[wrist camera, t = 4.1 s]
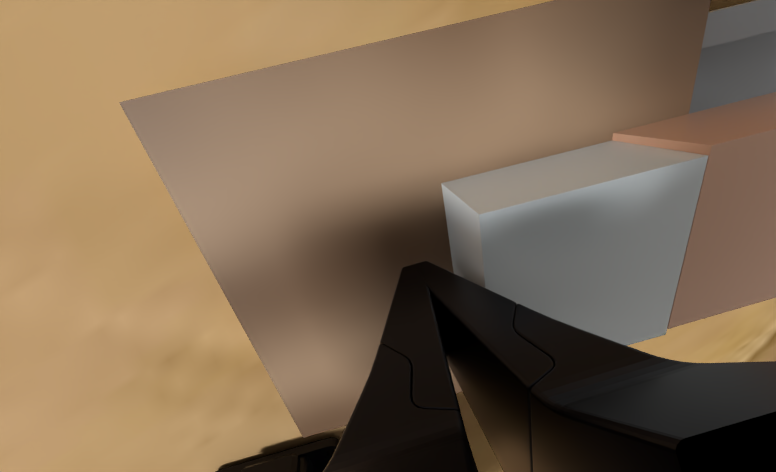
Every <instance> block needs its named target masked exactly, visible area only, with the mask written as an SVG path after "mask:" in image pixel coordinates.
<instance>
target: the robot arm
mask: <svg viewBox="0 0 776 472" xmlns="http://www.w3.org/2000/svg"><path fill="white" fill-rule="evenodd" d="M449 366H450V368H451V370H452V372H453V374H454V376H455V378H456V380H457V382H458V384H459V386H460V388H461V390H462V391H463V393H464V395H465V397H466V399H467V401H468V403H469V405H470V407H471V409H472V411H473V413H474V415H475V417H476V419H477V421H478V422H479V424H480V426H481V428H482V430H483V432H484V434H485V436H486V438H487V440H488V442H489V444H490V446H491V448H492V450H493V452H494V454H495V455H496V457H497V459H498V461H499V463H500V465H501V467H502V469H503V471H504V472H776V361H774V362H737V363H689V362H680V361H674V360H669V359H665V358H661V357H657V356H654V355H651V354H648V353H645V352H642V351H639V350H637V349H634V348H631V347H628V346H626V345H623V344H620V343H617V342H615V341H612V340H609V339H606V338H603V337H601V336H598V335H595V334H592V333H590V332H587V331H584V330H581V329H579V328H576V327H573V326H571V325H568V324H566V323H563V322H560V321H558V320H555V319H553V318H550V317H548V316H546V315H543V314H541V313H539V312H536V311H534V310H532V309H530V308H528V307H525V306H523V305H521V304H517V303H516V302H514V301H512V300H510V299H508V298H506V297H504V296H501V295H499V294H497V293H495V292H493V291H491V290H489V289H486V288H484V287H482V286H480V285H478V284H476V283H473V282H471V281H469V280H467V279H465V278H463V277H461V276H458V275H456V274H454V273H452V272H450V271H448V270H445V269H443V268H441V267H439V266H437V265H435V264H433V263H430V262H428V261H423V262H420V263H416V264H413V265H409V266H406V267H403V268H402V270H401V273H400V276H399V280H398V283H397V286H396V290H395V293H394V297H393V300H392V303H391V307H390V310H389V313H388V317H387V320H386V323H385V327H384V330H383V334H382V337H381V340H380V345H379V347H378V350H377V353H376V357H375V360H374V363H373V365H372V368H371V371H370V374H369V377H368V379H367V381H366V384H365V386H364V388H363V391H362V393H361V395H360V397H359V400H358V402H357V404H356V406H355V408H354V410H353V413H352V415H351V417H350V419H349V421H348V423H347V426H346V428H345V430H344V432H343V434H342V437H341V439H340V441H339V440H338V439H336V438H328V439H324V440H321V441H317V442H314V443H310V444H307V445H304V446H300V447H297V448H293V449H290V450H286V451H283V452H280V453H276V454H273V455H269V456H266V457H263V458H259V459H256V460H252V461H249V462H245V463H242V464H239V465H235V466H232V467H228V468H225V469H221V470H218V471H216V472H478V470H477V467H476V464H475V461H474V458H473V454H472V451H471V448H470V445H469V442H468V438H467V435H466V431H465V427H464V423H463V420H462V416H461V412H460V408H459V404H458V400H457V396H456V392H455V388H454V384H453V380H452V376H451V372H450V368H449Z"/></svg>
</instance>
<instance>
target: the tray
mask: <svg viewBox="0 0 776 472" xmlns="http://www.w3.org/2000/svg"><path fill="white" fill-rule="evenodd" d="M773 92H776V0H754V1H750V2H746V3H742V4H737V5H733V6H729V7H725V8H721V9H717V10H713V11H709V13H708V18H707V23H706V28H705V33H704V39H703V44H702V49H701V54H700V59H699V64H698V69H697V74H696V80H695V85H694V90H693V95H692V100H691V105H690V110H689V114H690V113H694V112H698V111H702V110H706V109H710V108H714V107H718V106H722V105H726V104H730V103H734V102H738V101H742V100H746V99H749V98H753V97H757V96H761V95H765V94H769V93H773Z"/></svg>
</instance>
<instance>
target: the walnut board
mask: <svg viewBox="0 0 776 472" xmlns="http://www.w3.org/2000/svg"><path fill="white" fill-rule="evenodd" d="M710 3H711V0H554V1H550V2H546V3H541V4H537V5H533V6H528V7H524V8H520V9H516V10H511V11H507V12H503V13H499V14H494V15H490V16H486V17H482V18H477V19H473V20H469V21H464V22H460V23H456V24H452V25H447V26H443V27H439V28H435V29H430V30H426V31H422V32H418V33H413V34H409V35H405V36H400V37H396V38H392V39H388V40H383V41H379V42H375V43H371V44H366V45H362V46H358V47H353V48H349V49H345V50H341V51H336V52H332V53H328V54H324V55H319V56H315V57H311V58H307V59H302V60H298V61H294V62H289V63H285V64H281V65H277V66H272V67H268V68H264V69H260V70H255V71H251V72H247V73H242V74H238V75H234V76H230V77H225V78H221V79H217V80H213V81H208V82H204V83H200V84H196V85H191V86H187V87H183V88H178V89H174V90H170V91H166V92H161V93H157V94H153V95H149V96H144V97H140V98H136V99H131V100H127V101H123V102H119V103H120V105H121V107H122V108H123V110H124V112H125V114H126V116H127V117H128V119H129V121H130V123H131V125H132V127H133V128H134V130H135V132H136V134H137V136H138V138H139V139H140V141H141V143H142V145H143V147H144V148H145V150H146V152H147V154H148V156H149V158H150V159H151V161H152V163H153V165H154V167H155V168H156V170H157V172H158V174H159V176H160V178H161V179H162V181H163V183H164V185H165V187H166V189H167V190H168V192H169V194H170V196H171V198H172V199H173V201H174V203H175V205H176V207H177V209H178V210H179V212H180V214H181V216H182V218H183V219H184V221H185V223H186V225H187V227H188V229H189V230H190V232H191V234H192V236H193V238H194V239H195V241H196V243H197V245H198V247H199V249H200V250H201V252H202V254H203V256H204V258H205V260H206V261H207V263H208V265H209V267H210V269H211V270H212V272H213V274H214V276H215V278H216V280H217V281H218V283H219V285H220V287H221V289H222V290H223V292H224V294H225V296H226V298H227V300H228V301H229V303H230V305H231V307H232V309H233V311H234V312H235V314H236V316H237V318H238V320H239V321H240V323H241V325H242V327H243V329H244V331H245V332H246V334H247V336H248V338H249V340H250V341H251V343H252V345H253V347H254V349H255V351H256V352H257V354H258V356H259V358H260V360H261V361H262V363H263V365H264V367H265V369H266V371H267V372H268V374H269V376H270V378H271V380H272V382H273V383H274V385H275V387H276V389H277V391H278V392H279V394H280V396H281V398H282V400H283V402H284V403H285V405H286V407H287V409H288V411H289V412H290V414H291V416H292V418H293V420H294V422H295V423H296V425H297V427H298V429H299V431H300V433H301V434H302V436H303V438H304V437H308V436H311V435H315V434H318V433H322V432H325V431H328V430H332V429H335V428H339V427H342V426H346V425H347V423H348V421H349V419H350V417H351V415H352V413H353V410H354V408H355V406H356V404H357V402H358V400H359V397H360V395H361V393H362V391H363V388H364V386H365V384H366V381H367V379H368V377H369V374H370V371H371V368H372V365H373V363H374V360H375V357H376V353H377V350H378V347H379V345H380V340H381V337H382V334H383V330H384V327H385V323H386V320H387V317H388V313H389V310H390V307H391V303H392V300H393V297H394V293H395V290H396V286H397V283H398V280H399V276H400V273H401V270H402V268H403V267H406V266H409V265H413V264H416V263H420V262H423V261H428V262H430V263H433V264H435V265H437V266H439V267H441V268H443V269H445V270H448V271H450V272H452V273H454V272H453V264H452V257H451V250H450V243H449V236H448V228H447V221H446V214H445V207H444V200H443V192H442V185H441V183H444V182H448V181H452V180H456V179H460V178H464V177H468V176H472V175H476V174H480V173H484V172H488V171H492V170H496V169H500V168H504V167H508V166H512V165H516V164H520V163H524V162H528V161H532V160H536V159H540V158H544V157H548V156H552V155H556V154H560V153H564V152H568V151H572V150H576V149H580V148H584V147H588V146H592V145H596V144H600V143H604V142H608V141H612V137H613V133H615V132H619V131H623V130H627V129H631V128H635V127H639V126H643V125H647V124H650V123H654V122H658V121H662V120H666V119H670V118H674V117H678V116H682V115H686V114H689V110H690V105H691V100H692V95H693V90H694V85H695V80H696V74H697V69H698V64H699V59H700V54H701V49H702V44H703V39H704V33H705V28H706V23H707V18H708V13H709V8H710ZM449 368H450V366H449ZM450 372H451V376H452V380H453V384H454V388H455V392H456V393H459V392H462V390H461V388H460V386H459V384H458V382H457V380H456V378H455V376H454V374H453V372H452V370H451V368H450Z"/></svg>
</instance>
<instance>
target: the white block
mask: <svg viewBox="0 0 776 472" xmlns="http://www.w3.org/2000/svg"><path fill="white" fill-rule="evenodd" d="M708 156H709V155H702V154H696V153H690V152H683V151H677V150H670V149H664V148H658V147H651V146H645V145H639V144H632V143H626V142H619V141H613V140H612V141H608V142H604V143H600V144H596V145H592V146H588V147H584V148H580V149H576V150H572V151H568V152H564V153H560V154H556V155H552V156H548V157H544V158H540V159H536V160H532V161H528V162H524V163H520V164H516V165H512V166H508V167H504V168H500V169H496V170H492V171H488V172H484V173H480V174H476V175H472V176H468V177H464V178H460V179H456V180H452V181H448V182H444V183H441V185H442V192H443V200H444V207H445V214H446V221H447V228H448V236H449V243H450V250H451V257H452V264H453V272H454V274H456V275H458V276H461V277H463V278H465V279H467V280H469V281H471V282H473V283H476V284H478V285H480V286H482V287H484V288H486V289H489V290H491V291H493V292H495V293H497V294H499V295H501V296H504V297H506V298H508V299H510V300H512V301H514V302H516V303H517V304H521V305H523V306H525V307H528V308H530V309H532V310H534V311H536V312H539V313H541V314H543V315H546V316H548V317H550V318H553V319H555V320H558V321H560V322H563V323H566V324H568V325H571V326H573V327H576V328H579V329H581V330H584V331H587V332H590V333H592V334H595V335H598V336H601V337H603V338H606V339H609V340H612V341H615V342H617V343H620V344H623V345H626V346H627V345H630V344H634V343H637V342H641V341H644V340H648V339H651V338H655V337H658V336H662V335H665V334H666V331H667V327H668V322H669V318H670V314H671V310H672V306H673V302H674V297H675V293H676V289H677V285H678V281H679V277H680V272H681V268H682V264H683V260H684V256H685V251H686V247H687V243H688V239H689V235H690V231H691V226H692V222H693V218H694V214H695V210H696V206H697V201H698V197H699V193H700V189H701V185H702V181H703V176H704V172H705V168H706V164H707V160H708Z"/></svg>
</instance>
